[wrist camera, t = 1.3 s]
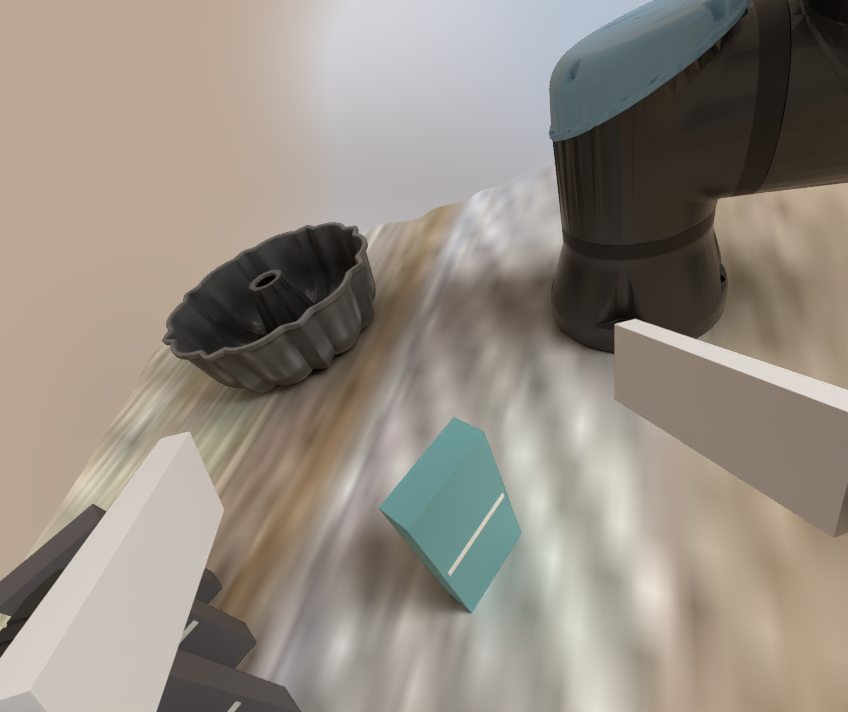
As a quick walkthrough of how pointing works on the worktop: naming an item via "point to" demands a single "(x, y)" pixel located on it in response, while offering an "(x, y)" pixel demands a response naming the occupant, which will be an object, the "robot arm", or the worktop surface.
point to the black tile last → (60, 554)
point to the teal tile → (456, 512)
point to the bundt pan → (277, 308)
